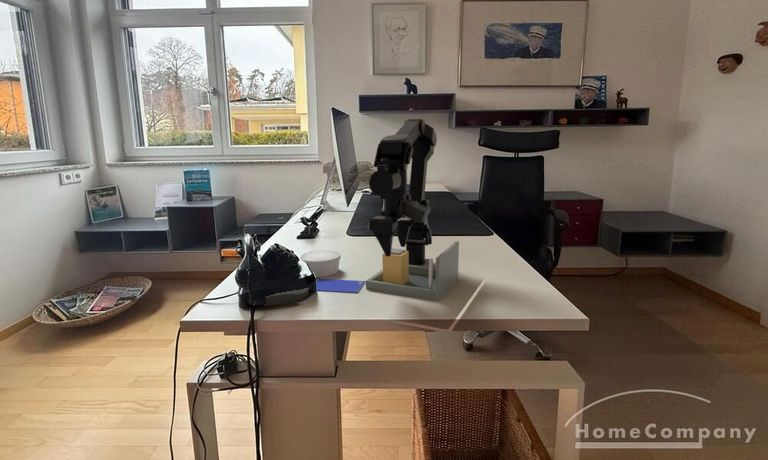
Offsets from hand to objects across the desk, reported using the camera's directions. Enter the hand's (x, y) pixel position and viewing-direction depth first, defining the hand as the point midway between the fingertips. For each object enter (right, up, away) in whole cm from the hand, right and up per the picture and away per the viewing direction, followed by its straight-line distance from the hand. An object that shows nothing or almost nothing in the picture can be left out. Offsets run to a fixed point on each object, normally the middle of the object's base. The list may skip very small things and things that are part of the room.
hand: (395, 251), depth 107 cm
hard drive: (-15, -10, 0) cm, 18 cm away
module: (0, -8, +2) cm, 8 cm away
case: (+4, -9, +1) cm, 10 cm away
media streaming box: (-29, -11, -3) cm, 31 cm away
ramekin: (-21, -7, +12) cm, 25 cm away
